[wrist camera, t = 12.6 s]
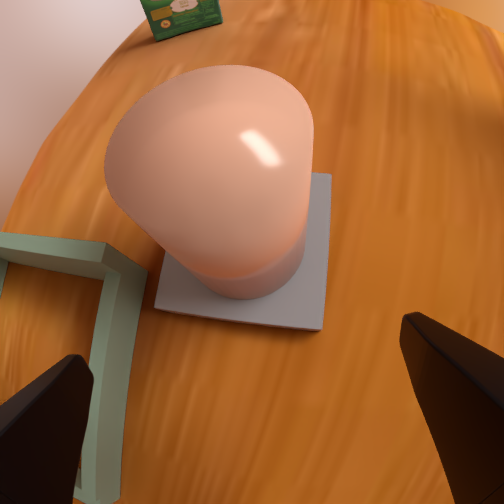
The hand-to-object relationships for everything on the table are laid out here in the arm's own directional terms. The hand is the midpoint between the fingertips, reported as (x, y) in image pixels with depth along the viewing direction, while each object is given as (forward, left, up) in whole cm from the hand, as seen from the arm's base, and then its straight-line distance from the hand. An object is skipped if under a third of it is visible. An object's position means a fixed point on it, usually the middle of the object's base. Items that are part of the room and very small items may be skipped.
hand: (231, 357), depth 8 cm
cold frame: (-4, +15, -9) cm, 18 cm away
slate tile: (+6, +2, -9) cm, 11 cm away
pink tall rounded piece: (+6, +2, -8) cm, 10 cm away
